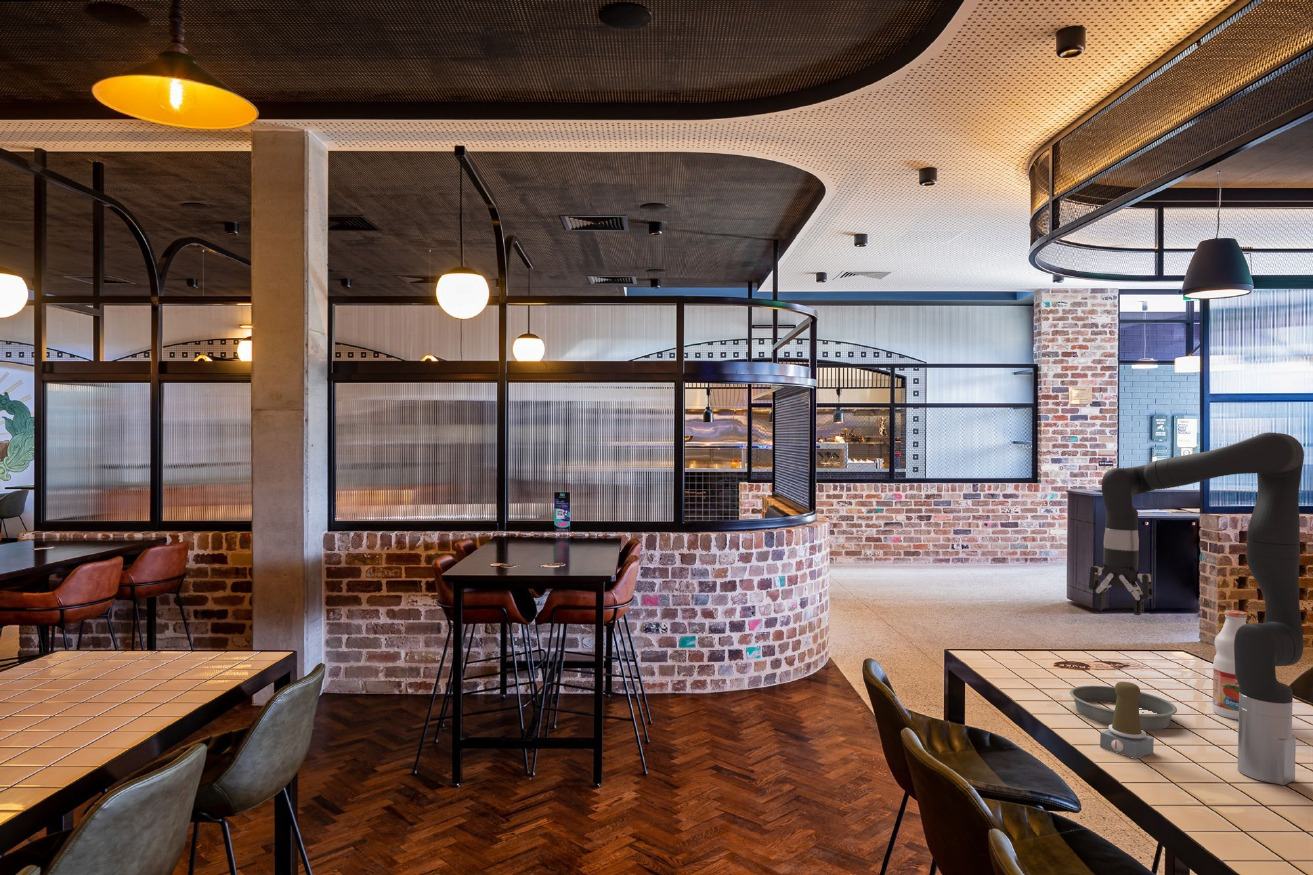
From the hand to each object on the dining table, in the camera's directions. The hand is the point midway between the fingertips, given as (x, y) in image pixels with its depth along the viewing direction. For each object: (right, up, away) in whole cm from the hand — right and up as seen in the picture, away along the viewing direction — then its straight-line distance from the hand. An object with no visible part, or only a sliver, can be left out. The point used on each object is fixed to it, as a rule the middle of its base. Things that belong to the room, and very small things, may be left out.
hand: (1119, 611), depth 193 cm
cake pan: (+8, -31, +12) cm, 34 cm away
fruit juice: (+40, -32, +14) cm, 53 cm away
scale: (-6, -30, -12) cm, 33 cm away
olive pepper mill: (-6, -25, -12) cm, 29 cm away
